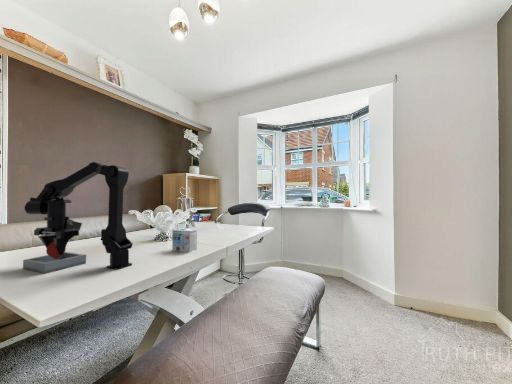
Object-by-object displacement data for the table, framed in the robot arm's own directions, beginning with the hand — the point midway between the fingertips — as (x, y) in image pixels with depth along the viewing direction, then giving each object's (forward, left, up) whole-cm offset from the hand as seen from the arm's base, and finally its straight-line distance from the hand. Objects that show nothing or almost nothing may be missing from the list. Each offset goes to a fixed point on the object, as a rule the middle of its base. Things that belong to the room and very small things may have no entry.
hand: (56, 253), depth 92 cm
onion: (0, 0, -2) cm, 2 cm away
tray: (0, 0, -5) cm, 5 cm away
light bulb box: (-30, -41, -5) cm, 51 cm away
